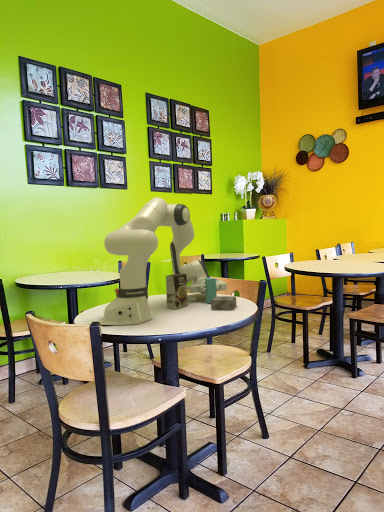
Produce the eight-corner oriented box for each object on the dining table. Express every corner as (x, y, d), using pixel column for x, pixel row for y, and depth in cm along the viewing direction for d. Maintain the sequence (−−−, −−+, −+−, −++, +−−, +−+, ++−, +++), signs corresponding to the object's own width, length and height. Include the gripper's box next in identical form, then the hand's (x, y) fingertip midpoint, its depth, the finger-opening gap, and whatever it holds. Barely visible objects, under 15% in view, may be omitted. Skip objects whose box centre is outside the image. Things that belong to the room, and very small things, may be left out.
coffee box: (177, 309, 189) (175, 276, 188) (166, 308, 193) (164, 275, 192) (188, 306, 196) (187, 273, 195) (178, 305, 200) (176, 273, 199)
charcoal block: (211, 310, 184) (210, 300, 183) (216, 306, 193) (215, 296, 193) (232, 311, 181) (232, 300, 180) (236, 306, 190) (236, 296, 190)
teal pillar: (208, 303, 198) (207, 279, 197) (206, 301, 203) (204, 278, 202) (216, 302, 199) (215, 278, 198) (214, 300, 204) (213, 277, 203)
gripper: (185, 281, 211) (190, 284, 197) (222, 278, 215) (230, 281, 201) (185, 293, 211) (191, 297, 198) (222, 290, 215) (230, 294, 202)
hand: (211, 289), depth 200 cm, fingers closed on teal pillar, 4 cm apart
